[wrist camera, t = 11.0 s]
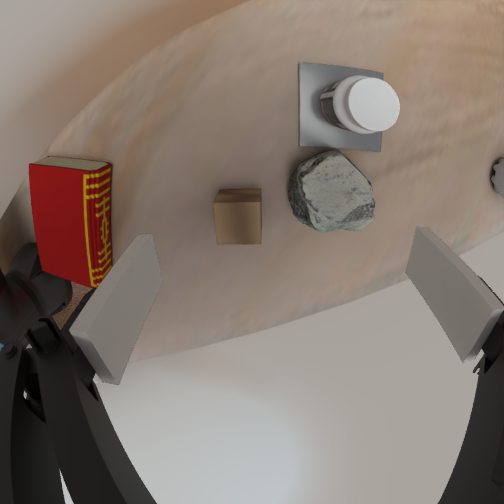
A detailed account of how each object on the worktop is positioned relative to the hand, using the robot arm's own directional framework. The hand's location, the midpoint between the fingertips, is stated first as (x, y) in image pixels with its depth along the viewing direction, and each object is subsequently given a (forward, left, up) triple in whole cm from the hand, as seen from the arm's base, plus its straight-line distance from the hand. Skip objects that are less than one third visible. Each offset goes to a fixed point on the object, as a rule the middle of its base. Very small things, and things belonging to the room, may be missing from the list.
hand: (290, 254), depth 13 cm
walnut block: (-4, -6, -22) cm, 23 cm away
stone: (+8, -5, -22) cm, 24 cm away
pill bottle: (+8, +8, -21) cm, 23 cm away
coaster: (+8, +7, -21) cm, 24 cm away
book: (-30, -6, -22) cm, 37 cm away
